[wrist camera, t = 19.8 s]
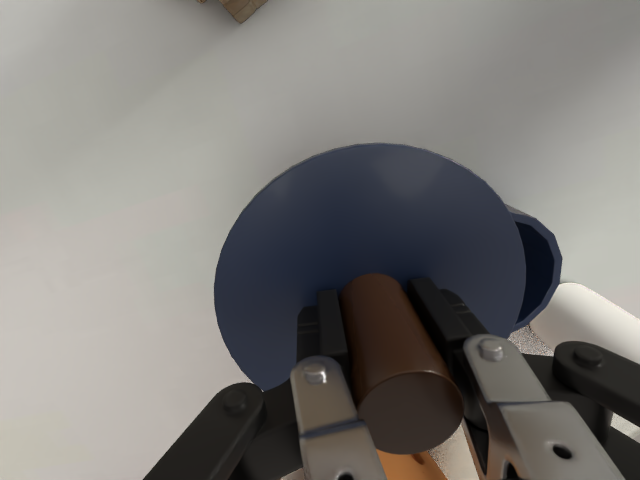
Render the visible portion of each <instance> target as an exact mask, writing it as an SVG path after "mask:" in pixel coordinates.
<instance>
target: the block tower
mask: <svg viewBox="0 0 640 480" xmlns="http://www.w3.org/2000/svg"><path fill="white" fill-rule="evenodd" d="M197 1H198V2H199V3H204V2H205V1H206V0H197ZM219 1H220V2H221V3H222V4H223V5H224V7H225V8H226V9H227V10H228V11H229V12H230V14H232V16H233V17H234V18H235V19H236V20H237V21H238V22H239V23H243V22H244V21H245V20H246V19H248V18H249V17H250V16H251V15H252V14H253V13H254V12H255V11H256V9H257V8H259V7H260V6H262V5H263V4H264V3H265V2H266V1H268V0H219Z"/></svg>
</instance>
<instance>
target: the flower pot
mask: <svg viewBox="0 0 640 480" xmlns="http://www.w3.org/2000/svg"><path fill="white" fill-rule="evenodd" d="M376 451H377V453H378V456H379V458H380V461H381V464H382V466H383V469H384V472H385V474H386V477H387V480H447V478H446V477H445V475H444V474H443V472H442V471H441V470H440V468H439V467H438V465H437V464H436V462H435V461H434V460H433V458H432V457H431V456H430V454H429V453H428V452H427V451H424V452H421V453H416V454H409V455H397V454H390V453H386V452H383V451H380V450H378V449H376Z"/></svg>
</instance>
